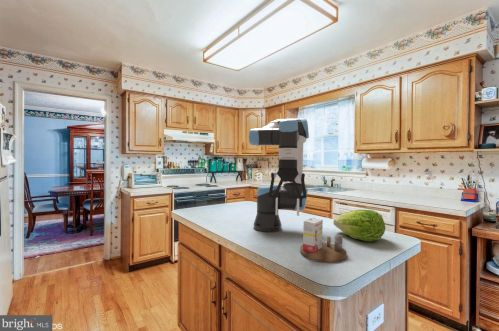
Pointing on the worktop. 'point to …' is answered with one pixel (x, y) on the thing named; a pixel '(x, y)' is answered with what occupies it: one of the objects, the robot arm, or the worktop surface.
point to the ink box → (312, 234)
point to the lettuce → (361, 224)
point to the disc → (328, 251)
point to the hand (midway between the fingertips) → (287, 214)
